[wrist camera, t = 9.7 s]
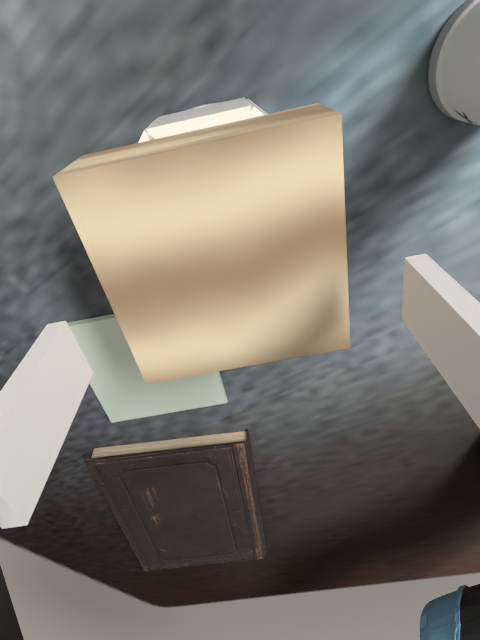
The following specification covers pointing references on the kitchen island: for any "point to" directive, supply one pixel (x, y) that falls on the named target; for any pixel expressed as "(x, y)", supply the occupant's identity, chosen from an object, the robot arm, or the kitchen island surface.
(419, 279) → the robot arm
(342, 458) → the kitchen island surface
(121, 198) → the tan box
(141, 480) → the hardcover book
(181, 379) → the mat
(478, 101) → the travel mug
